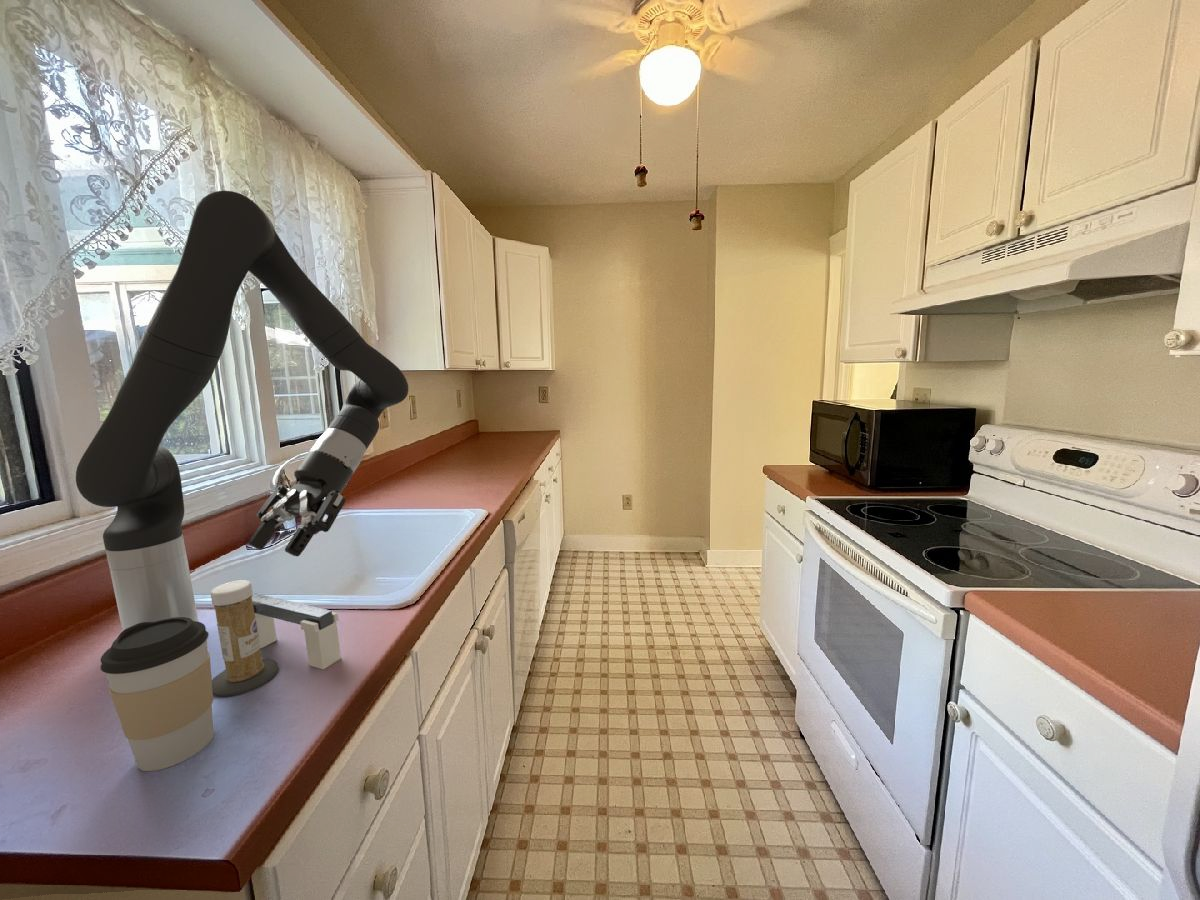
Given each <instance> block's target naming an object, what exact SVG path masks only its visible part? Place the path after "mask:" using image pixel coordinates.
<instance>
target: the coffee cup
mask: <svg viewBox="0 0 1200 900" xmlns="http://www.w3.org/2000/svg"><path fill="white" fill-rule="evenodd" d="M208 638H209V632H208V631H207V630H206V625H205V624H204V623H202V622H200V621H198V622H197V621H193V620H192V619H190V618H187V617H175V618H168V619H163V620H159V621H155V622H143V623H138V624H136V625H134V626H131V627H129V628H127V629H125V630H124V631H121V632H120V633H119V635H118V636H117V637H116V639H114V641H113V642H112V644H111V647H109V648H108V649H107V650H105V652H104V653H103V654H102V655H101V657H100V663H101V664H100V667H99V668H100V670H101V671H102V672H103V673H104V674H105V676H106V679H107V682H108V690H109V691H108V692H109V694H110V696H111V700H112V702H113V706H114V708H115V712H116V714H117V716H118V717H117V718H118V719H119V722H120V725H121V728H122V731H123V734H124V737H125V738H126V739H127V740H128V743H129V746H130V749H131V752H132V754H133V758H134V760H135V764H136V767H137V768H138V769H139V770H140V771H144V772H155V771H160V770H161V771H162V770H164V769H167V768H168V769H169V768H171V767H173V766H175V765H178V764H181V763H182V762H184V761H186V760H188V759H190V758H191V757H193V756H195V755H196V754H198V753H199V752H200V751H202V750H203V749H204V748H205V747H206V746H207V745H209V743H210V742H211V741H212V740H213V738H214V736H215V735H214V734H215V728H214V714H213V703H214V696H213V692H212V679H213V678H212V667H211V654H210V652H209V651H208V642H207V640H208Z"/></svg>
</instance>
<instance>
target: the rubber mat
mask: <svg viewBox="0 0 1200 900" xmlns="http://www.w3.org/2000/svg"><path fill="white" fill-rule="evenodd" d="M262 662H263V663H264V668H263V670H262V671H261V672H260V673H259V674H257V675H255V676H254V677H252V678H250V679H247V680H244V681H238V682H230V681H228V680H227V679H226V674H227V673H226V669H224V670H223V671H221V672H220V673H218V674H217V675H215V676H214V677H213V678H212V692H213V697H217V698H220V697H221V698H225V697H233V696H238V695H241V694H245V693H247V692H250V691H253V690H255V689H257V688H260V687H261V686H263V685H264V684H266V683H268V682H269V681H270V680H272V679H273V678H274V677H275V676H276V674H277V673H278V670H279V663H278V662H277V660H276V659H273V658H268V657H265V658H263V657H262Z"/></svg>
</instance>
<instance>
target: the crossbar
mask: <svg viewBox="0 0 1200 900" xmlns="http://www.w3.org/2000/svg"><path fill="white" fill-rule="evenodd" d="M251 596H252V602H253V608H254V613H257V614H261V615H265V616H268V617H272V618H274V619H277V620H279V621H284V622H289V623H292V624H296V625H300V626H301V624H300V622H301V621H303V620H307V621H311V622H315V623H318V627H319V630H322V629H324V628H326V627H327V626H329V625H331V624H333V617H332V612H333V611H332V610H330V609H326V608H322V607H318V606H317V607H316V606H312V605H308V604H303V603H301V602H300V603H299V602H295V601H292V600H291V601H290V600H287V599H282V598H277V597H273V596H270V595H269V596H268V595H264V594H260V593H255V592H253V594H252V595H251Z"/></svg>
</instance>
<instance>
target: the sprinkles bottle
mask: <svg viewBox="0 0 1200 900" xmlns="http://www.w3.org/2000/svg"><path fill="white" fill-rule="evenodd" d="M252 594H254V592H253V586H252V583H251V581H249V580H245V579H241V580H240V579H239V580H238V579H237V580H233V581H229V582H226V583H222V584H219V585H217V586H215V587H214V588H212V589H211V591H210V597H211V603H212V605H213V608H214V610H215V612H214V613H215V617H216V622H217V624H216V625H217V626H216V627H217V632H218V637H219V643H220V649H221V654H222V655H221V656H222V659H223V660H224V665H225V666H224V667H225V670H226V673H227V674H226V679H227V680H228V681H230V682H238V681H244V680H247V679H250V678H252V677H254V676H255V675H257V674H259V673H260V672H261V671H262V670H263V668H264V663H263V662H262V658H263V656H262V650H261V649H260V640H259V634H258V628H257V622H256V618H255V614H254V608H253V602H252V596H251V595H252Z"/></svg>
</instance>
